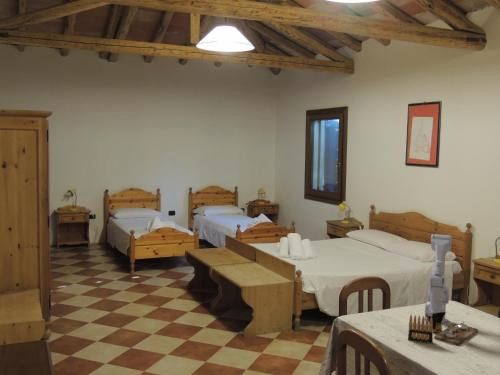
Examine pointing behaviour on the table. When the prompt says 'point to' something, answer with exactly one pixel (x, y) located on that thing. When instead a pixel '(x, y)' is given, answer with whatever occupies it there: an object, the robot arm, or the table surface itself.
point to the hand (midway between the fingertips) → (435, 327)
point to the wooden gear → (438, 327)
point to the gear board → (461, 334)
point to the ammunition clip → (421, 330)
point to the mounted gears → (456, 331)
